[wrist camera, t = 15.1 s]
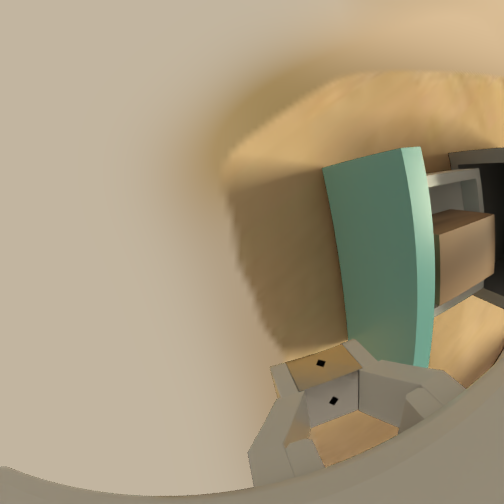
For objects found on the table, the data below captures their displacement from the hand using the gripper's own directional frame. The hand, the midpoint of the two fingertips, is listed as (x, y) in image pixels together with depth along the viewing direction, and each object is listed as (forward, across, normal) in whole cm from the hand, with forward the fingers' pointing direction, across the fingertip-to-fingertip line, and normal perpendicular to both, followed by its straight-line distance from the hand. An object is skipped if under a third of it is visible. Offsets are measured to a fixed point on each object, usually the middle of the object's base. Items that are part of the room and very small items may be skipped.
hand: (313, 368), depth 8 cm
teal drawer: (+10, -13, 0) cm, 16 cm away
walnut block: (+9, -13, 0) cm, 16 cm away
